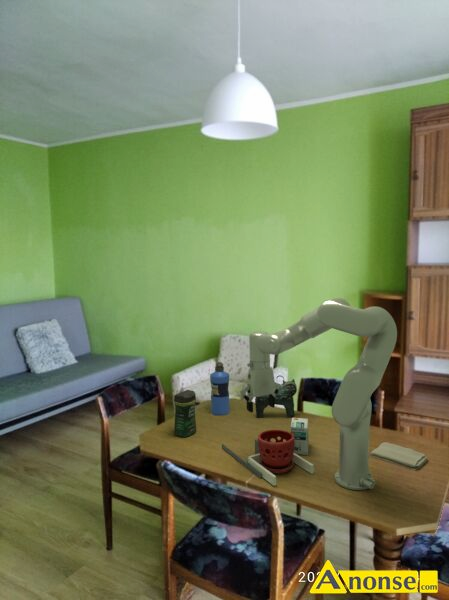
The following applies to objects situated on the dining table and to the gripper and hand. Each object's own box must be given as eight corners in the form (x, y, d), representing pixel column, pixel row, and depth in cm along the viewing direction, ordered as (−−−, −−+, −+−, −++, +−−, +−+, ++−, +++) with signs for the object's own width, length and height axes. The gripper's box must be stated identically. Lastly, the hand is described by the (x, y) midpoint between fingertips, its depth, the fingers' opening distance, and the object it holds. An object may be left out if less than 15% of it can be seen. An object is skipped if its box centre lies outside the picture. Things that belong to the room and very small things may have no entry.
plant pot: (296, 460, 164) (296, 429, 163) (292, 478, 151) (292, 444, 150) (261, 457, 167) (261, 426, 166) (255, 473, 155) (254, 441, 153)
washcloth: (417, 473, 155) (417, 464, 154) (368, 457, 167) (369, 449, 166) (428, 461, 163) (429, 453, 163) (381, 447, 175) (382, 439, 175)
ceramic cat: (296, 414, 212) (296, 373, 210) (298, 419, 205) (298, 377, 203) (254, 414, 212) (254, 374, 210) (255, 419, 206) (255, 377, 204)
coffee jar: (186, 439, 185) (185, 396, 183) (171, 435, 189) (170, 393, 187) (199, 431, 193) (198, 390, 191) (185, 427, 197) (184, 387, 195)
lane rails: (303, 465, 160) (303, 461, 160) (260, 478, 151) (260, 474, 151) (261, 438, 184) (261, 434, 184) (221, 448, 175) (221, 444, 175)
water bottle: (221, 407, 222) (220, 359, 220) (233, 412, 215) (233, 362, 213) (206, 412, 216) (206, 362, 214) (218, 417, 209) (218, 365, 207)
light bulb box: (308, 455, 168) (308, 428, 167) (290, 454, 170) (290, 427, 168) (308, 443, 179) (308, 418, 178) (291, 442, 180) (291, 417, 179)
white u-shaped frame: (313, 473, 154) (313, 456, 153) (273, 485, 146) (273, 468, 145) (276, 448, 174) (276, 434, 173) (239, 458, 165) (238, 443, 165)
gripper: (245, 370, 157) (246, 416, 159) (284, 363, 165) (285, 407, 167) (235, 365, 164) (236, 410, 165) (273, 359, 172) (274, 402, 173)
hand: (261, 409), depth 166 cm, fingers open, 9 cm apart
